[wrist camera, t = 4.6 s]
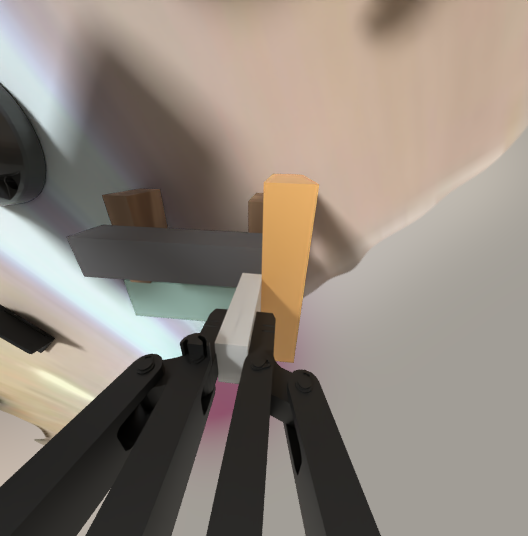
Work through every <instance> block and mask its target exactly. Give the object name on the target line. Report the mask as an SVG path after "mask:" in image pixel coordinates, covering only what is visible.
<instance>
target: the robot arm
mask: <svg viewBox="0 0 528 536" xmlns="http://www.w3.org/2000/svg"><path fill="white" fill-rule="evenodd" d="M45 176H46V168H45V160H44V155H43V151H42V148H41V145H40V142H39V140H38V138H37V135H36V133H35V131H34V129H33V127H32V125H31V124H30V122H29V120H28V118H27V117H26V115H25V114H24V112H23V111H22V109H21V108H20V107H19V105H18V104H17V103H16V101H15V100H14V99H13V98H12V96H11V95H10V94H9V93H8V92H7V91H6V90H5V89H4V88H3V87H2V86H1V85H0V206H6V205H13V204H20V203H25V202H29V201H31V200H33V199H34V198H35V197H37V196H38V195H39V193H40V192H41V190H42V188H43V186H44V183H45ZM261 285H262V274H250V273H242V276H241V278H240V281H239V283H238V286H237V288H236V291H235V293H234V296H233V298H232V301H231V303H230V306H229V308H228V309H218V308H216V309H215V310H214V311H212V312H211V313H210V315H209V317H208V319H207V321H206V322H205V324H204V326H203V328H202V330H201V332H200V333H194V334H191V335H188V336H187V337H185V338H183V340H182V341H181V342H180V346H181V351H182V355H183V356H180V357H177V358H172V359H167V360H162V358H161V357H160V356H159V355H157V354H148V355H145V356H142V357H140V358H139V359H137V360H136V361H135V362H133V363H132V364H131V365H130V366H129V367H128V368H127V369H126V370H125V371H124V372H123V373H122V374H121V375H120V376H118V377H117V378H116V379H115V380H114V381H113V382H112V383H111V384H110V385H109V386H108V387H107V388H106V389H105V390H103V391H102V392H101V393H100V394H99V395H98V396H97V397H96V398H95V399H94V400H93V401H92V402H91V403H90V404H89V405H87V406H86V407H85V408H84V409H83V410H82V411H81V412H80V413H79V414H78V415H77V416H76V417H75V418H74V419H72V420H71V421H70V422H69V423H68V424H67V425H66V426H65V427H64V428H63V429H62V430H61V431H60V432H59V433H58V434H56V435H55V436H54V437H53V438H52V439H51V440H50V441H49V442H48V443H47V444H46V445H45V446H44V447H43V448H42V449H40V450H39V451H38V452H37V453H36V454H35V455H34V456H33V457H32V458H31V459H30V460H29V461H28V462H27V463H25V465H23V466H22V467H21V468H20V469H19V470H18V471H17V472H16V473H15V474H14V475H13V476H12V477H11V478H10V479H8V480H7V481H6V482H5V483H4V484H3V485H2V486H1V487H0V536H77V534H78V533H79V532H80V530H81V529H82V527H83V526H84V524H85V523H86V522H87V520H88V519H89V518H90V516H91V515H92V513H93V512H94V511H95V509H96V508H97V506H98V505H99V504H100V502H101V501H102V500H103V498H104V497H105V495H106V494H107V492H108V491H109V490H110V491H109V493H108V495H107V497H106V498H105V500H104V502H103V504H102V506H101V508H100V510H99V511H98V513H97V515H96V517H95V519H94V521H93V523H92V524H91V526H90V528H89V530H88V532H87V534H86V536H171V535H172V532H173V529H174V525H175V522H176V519H177V516H178V512H179V509H180V506H181V502H182V499H183V496H184V492H185V490H186V486H187V483H188V480H189V476H190V473H191V470H192V467H193V463H194V460H195V457H196V453H197V450H198V447H199V444H200V441H201V437H202V434H203V431H204V427H205V424H206V421H207V418H208V414H209V411H210V408H211V405H212V402H213V398H214V395H215V383H216V380H217V377H218V381H219V382H227V383H235V384H239V386H238V391H237V396H236V400H235V405H234V410H233V414H232V419H231V424H230V428H229V433H228V437H227V442H226V447H225V452H224V456H223V461H222V466H221V470H220V474H219V479H218V484H217V489H216V493H215V498H214V502H213V507H212V512H211V516H210V521H209V526H208V530H207V535H206V536H262V526H263V511H264V494H265V480H266V465H267V449H268V434H269V418H270V415H271V416H273V417H275V418H277V419H278V420H280V421H282V422H283V423H284V428H285V433H286V438H287V444H288V448H289V454H290V459H291V464H292V468H293V473H294V479H295V483H296V489H297V493H298V499H299V504H300V509H301V514H302V519H303V524H304V528H305V534H306V536H381V535H380V533H379V530H378V528H377V525H376V523H375V520H374V518H373V515H372V513H371V510H370V508H369V505H368V503H367V500H366V498H365V495H364V493H363V490H362V488H361V485H360V483H359V480H358V478H357V475H356V473H355V470H354V468H353V465H352V463H351V460H350V458H349V455H348V453H347V450H346V448H345V445H344V443H343V440H342V438H341V435H340V433H339V430H338V428H337V425H336V423H335V420H334V418H333V415H332V413H331V410H330V408H329V405H328V403H327V400H326V398H325V395H324V393H323V390H322V388H321V385H320V383H319V381H318V379H317V378H316V376H314V375H313V374H312V373H311V372H309V371H306V370H296V371H294V372H293V373H292V372H289V371H287V370H285V369H283V368H281V367H280V366H279V365H278V364H277V363H276V361H275V359H274V339H275V323H276V319H275V317H274V315H273V313H267V312H260V310H261Z"/></svg>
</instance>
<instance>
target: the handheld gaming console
mask: <svg viewBox="0 0 528 536" xmlns="http://www.w3.org/2000/svg"><path fill="white" fill-rule="evenodd" d="M0 338H2V339H4V340H6V341H7V342H9V343H11V344H13V345H14V346H16V347H18V348H20V349H21V350H23V351H25V352H27V353H29V354H33V353H35V352H36V351H38V352H40V353H42V352H43V351H44V350H45V349H46V348H47V347H48V346H49V345H50V344H51V343H52V341H53V340H54V339H55V338H54V337H52V336H51V335H49V334H47V333H46V332H44V331H41V329H40V330H39V328H37V327H36V326H34V325H33V324H31V323H29V322H28V321H26V320H25V319H23V318H21V317H20V316H18V315H15V313H13V312H11V311H10V310H8V309H7V308H5V307H4V306H2V305H0Z"/></svg>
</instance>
